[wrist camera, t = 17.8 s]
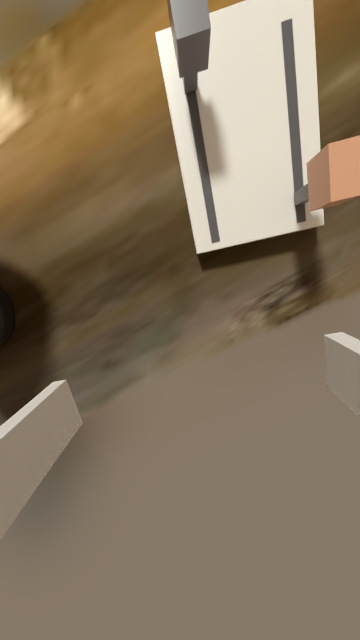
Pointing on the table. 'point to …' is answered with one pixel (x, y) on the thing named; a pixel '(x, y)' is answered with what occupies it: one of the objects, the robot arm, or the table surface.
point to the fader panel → (247, 123)
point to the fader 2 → (332, 175)
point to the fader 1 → (190, 38)
